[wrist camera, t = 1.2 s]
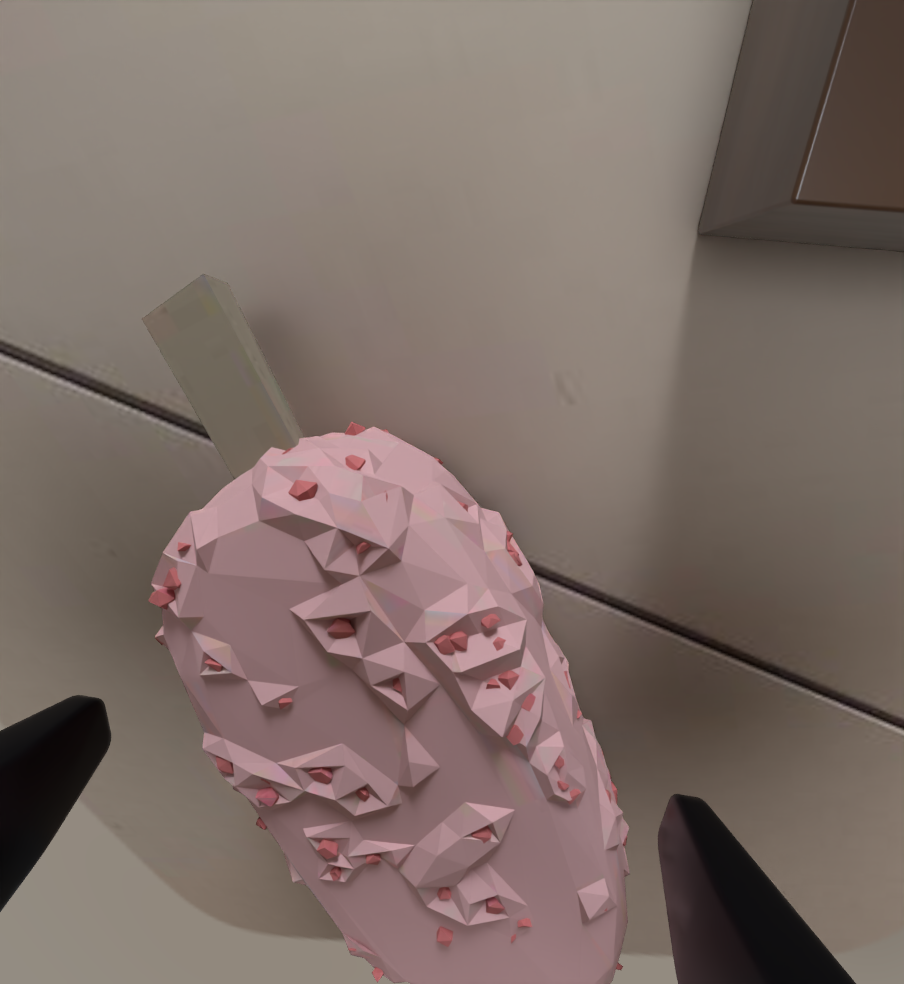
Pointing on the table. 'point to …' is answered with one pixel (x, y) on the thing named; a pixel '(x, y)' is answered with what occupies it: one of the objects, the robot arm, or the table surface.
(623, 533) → the table surface
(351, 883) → the ice cream bar
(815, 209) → the shelf
